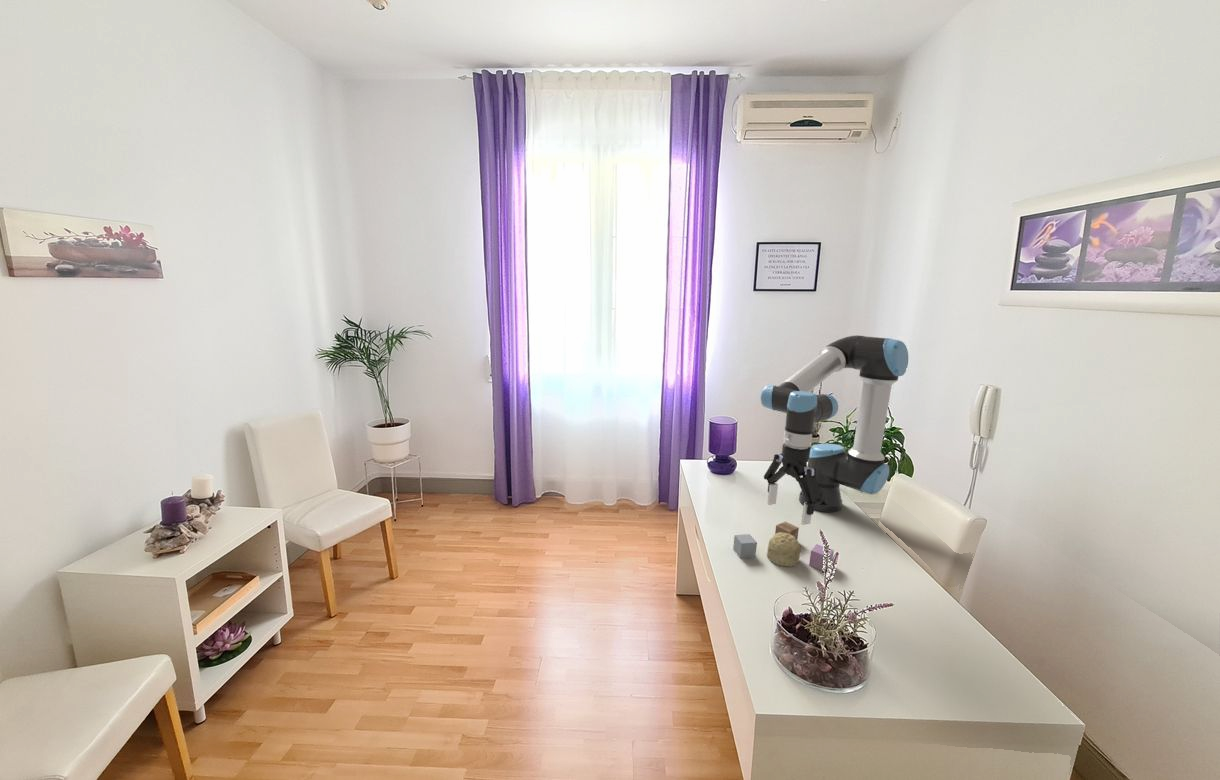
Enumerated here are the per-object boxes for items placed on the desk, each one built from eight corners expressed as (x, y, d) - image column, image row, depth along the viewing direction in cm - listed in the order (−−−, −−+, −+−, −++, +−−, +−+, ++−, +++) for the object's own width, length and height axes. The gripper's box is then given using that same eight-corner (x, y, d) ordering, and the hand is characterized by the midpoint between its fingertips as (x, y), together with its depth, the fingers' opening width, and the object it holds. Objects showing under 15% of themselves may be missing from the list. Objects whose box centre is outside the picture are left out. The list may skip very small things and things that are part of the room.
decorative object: (790, 580, 145) (812, 555, 143) (762, 559, 146) (784, 534, 144) (783, 565, 154) (804, 541, 153) (757, 545, 155) (778, 521, 153)
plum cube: (814, 558, 150) (816, 543, 149) (831, 565, 147) (833, 550, 146) (809, 565, 147) (811, 550, 146) (826, 572, 144) (828, 556, 143)
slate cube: (748, 548, 155) (749, 534, 154) (755, 557, 150) (757, 542, 149) (733, 549, 154) (734, 535, 153) (740, 558, 149) (741, 543, 148)
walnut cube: (783, 535, 164) (785, 521, 163) (797, 541, 160) (798, 527, 159) (774, 539, 161) (776, 525, 160) (787, 546, 157) (789, 531, 156)
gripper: (756, 433, 151) (749, 498, 156) (822, 461, 129) (811, 535, 134) (775, 431, 154) (767, 494, 159) (842, 458, 132) (831, 530, 137)
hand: (787, 513), depth 146 cm, fingers open, 13 cm apart
